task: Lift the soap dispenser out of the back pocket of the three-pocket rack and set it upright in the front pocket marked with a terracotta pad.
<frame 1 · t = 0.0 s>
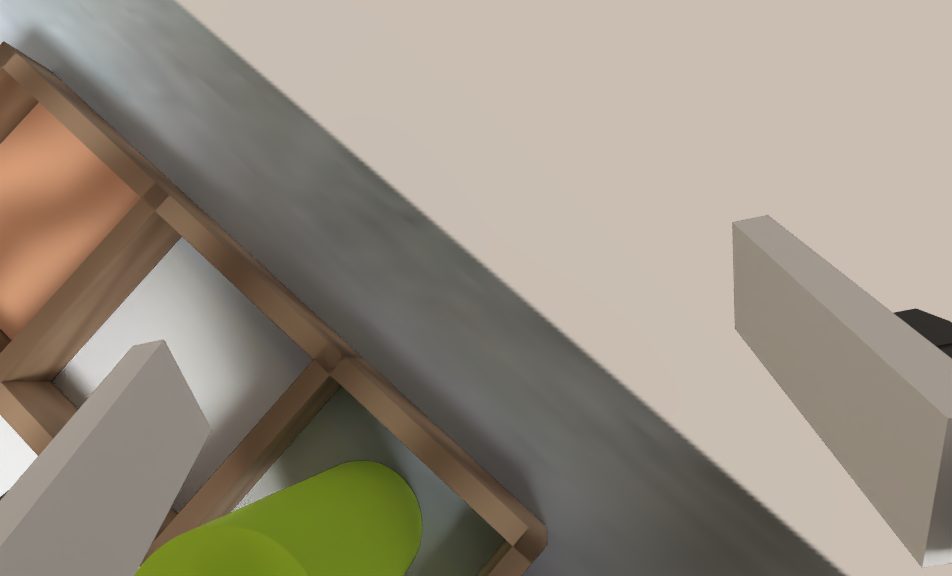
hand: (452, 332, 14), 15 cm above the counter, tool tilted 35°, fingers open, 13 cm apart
pocket rack: (190, 371, 31), on the counter
soap dispenser: (358, 535, 29), resting in pocket rack
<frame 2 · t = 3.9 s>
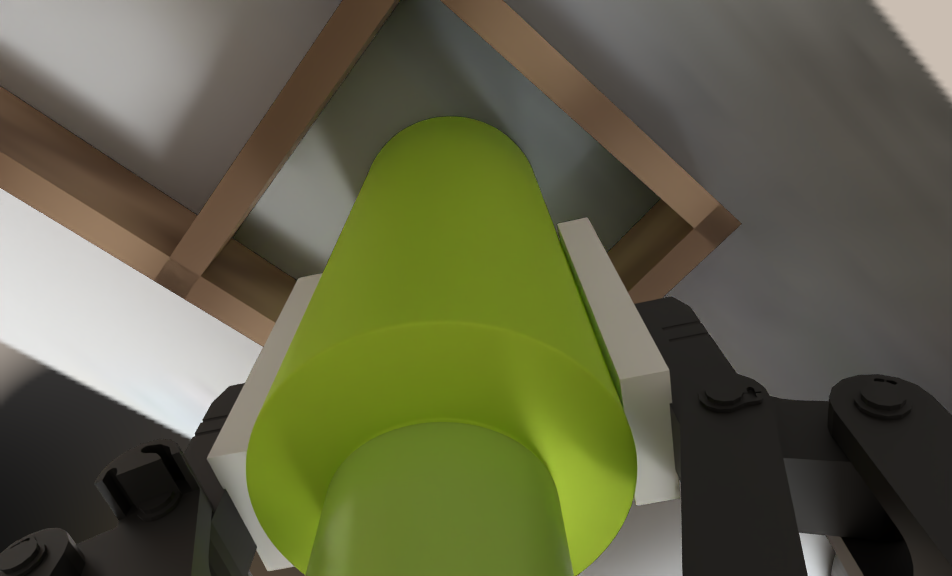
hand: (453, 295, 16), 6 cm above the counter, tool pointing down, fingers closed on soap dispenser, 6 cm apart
soap dispenser: (447, 215, 21), resting in pocket rack, touching gripper
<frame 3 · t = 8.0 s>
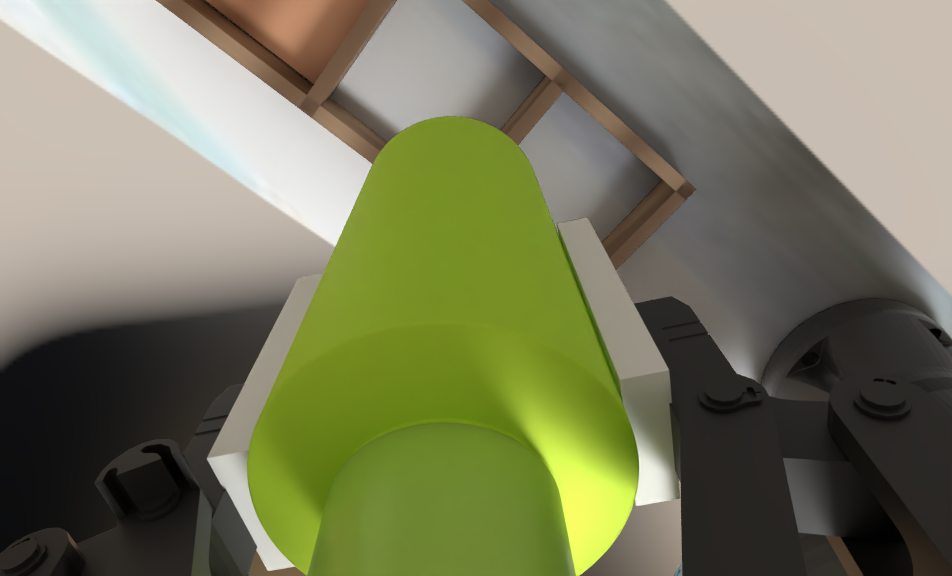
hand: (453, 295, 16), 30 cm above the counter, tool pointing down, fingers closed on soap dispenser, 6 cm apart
pocket rack: (437, 86, 42), on the counter
soap dispenser: (448, 216, 21), point 24 cm above the counter, touching gripper
when the fingers open (8 cm above the counter, at t = 12.0 s): soap dispenser drops 1 cm, resting on pocket rack.
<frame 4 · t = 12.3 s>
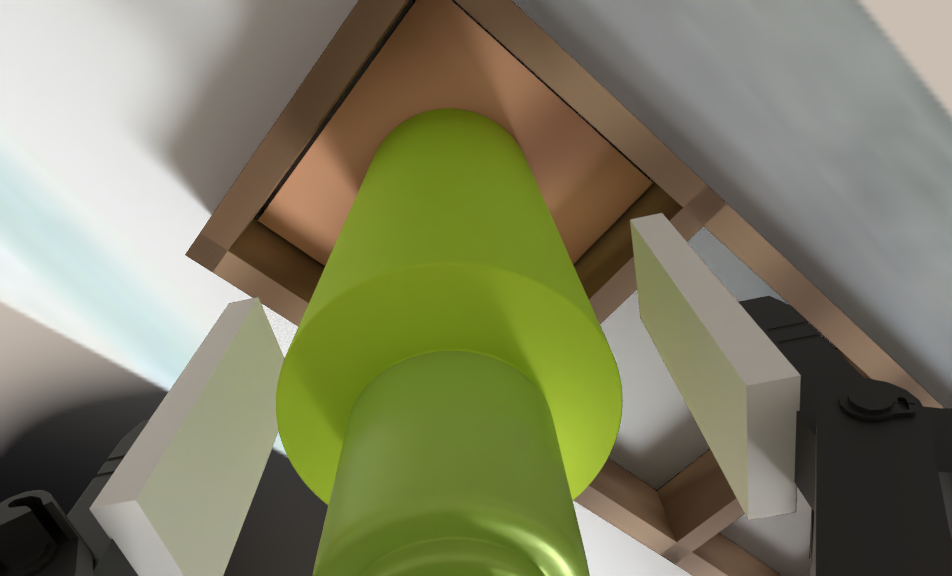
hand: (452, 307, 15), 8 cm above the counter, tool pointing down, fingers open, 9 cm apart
pocket rack: (664, 362, 26), on the counter
soap dispenser: (446, 203, 23), resting on pocket rack
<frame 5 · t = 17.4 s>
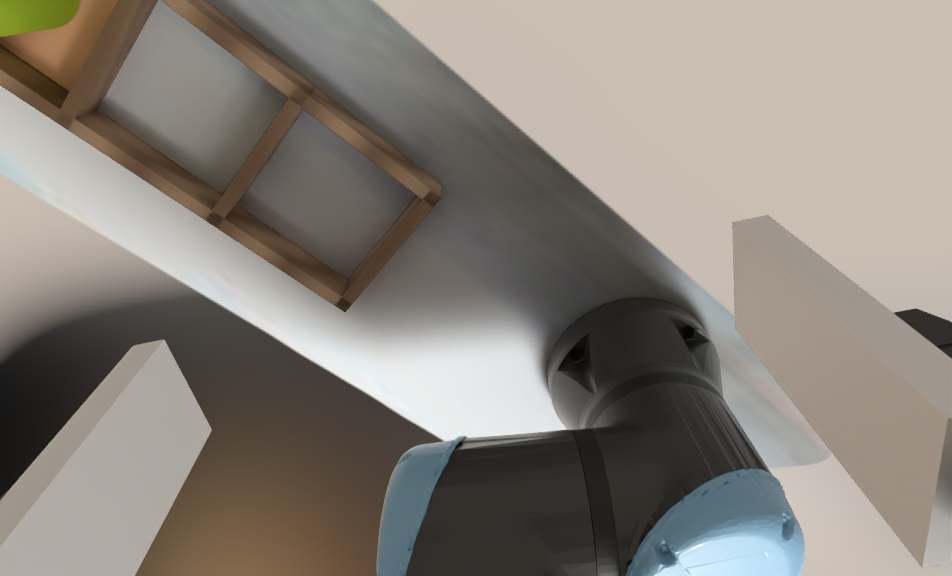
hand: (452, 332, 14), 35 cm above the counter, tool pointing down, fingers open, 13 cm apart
pocket rack: (197, 100, 45), on the counter
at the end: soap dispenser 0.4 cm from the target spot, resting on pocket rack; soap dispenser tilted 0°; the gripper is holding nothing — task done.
